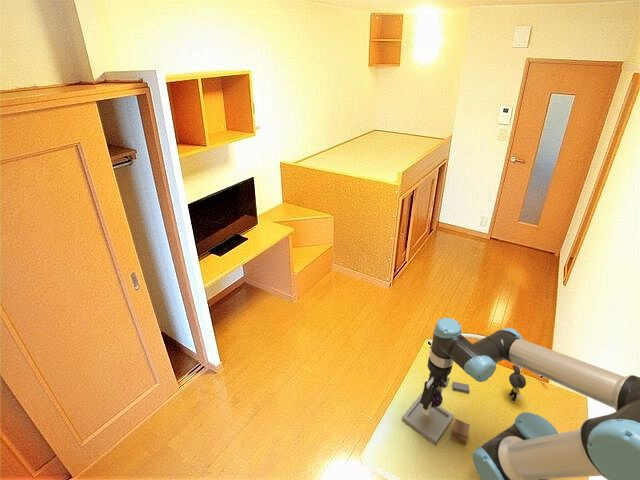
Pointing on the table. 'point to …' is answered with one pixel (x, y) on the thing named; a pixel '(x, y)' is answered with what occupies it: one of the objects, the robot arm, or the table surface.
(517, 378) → the toy
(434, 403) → the lollipop
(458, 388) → the rubber eraser
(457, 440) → the walnut cube
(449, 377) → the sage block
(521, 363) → the robot arm
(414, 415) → the tray
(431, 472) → the table surface
